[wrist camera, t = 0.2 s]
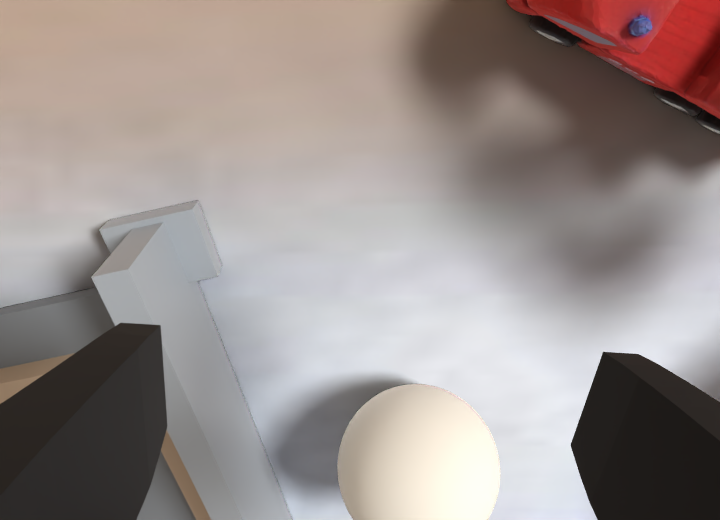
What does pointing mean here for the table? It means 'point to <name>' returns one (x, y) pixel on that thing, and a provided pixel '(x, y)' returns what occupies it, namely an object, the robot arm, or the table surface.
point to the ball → (418, 458)
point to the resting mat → (56, 344)
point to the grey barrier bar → (190, 356)
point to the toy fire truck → (645, 44)
